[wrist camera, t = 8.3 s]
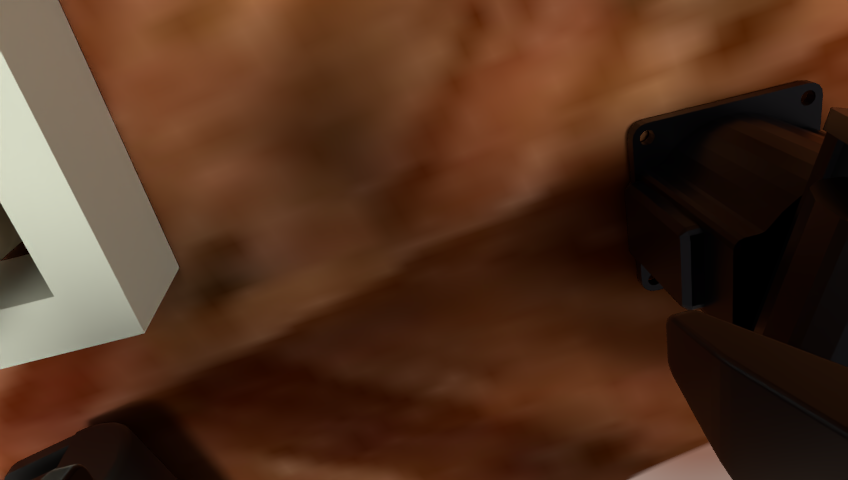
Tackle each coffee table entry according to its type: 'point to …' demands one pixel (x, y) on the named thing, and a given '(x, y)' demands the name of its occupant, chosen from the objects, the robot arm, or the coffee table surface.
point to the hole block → (68, 200)
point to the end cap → (96, 456)
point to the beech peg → (7, 234)
